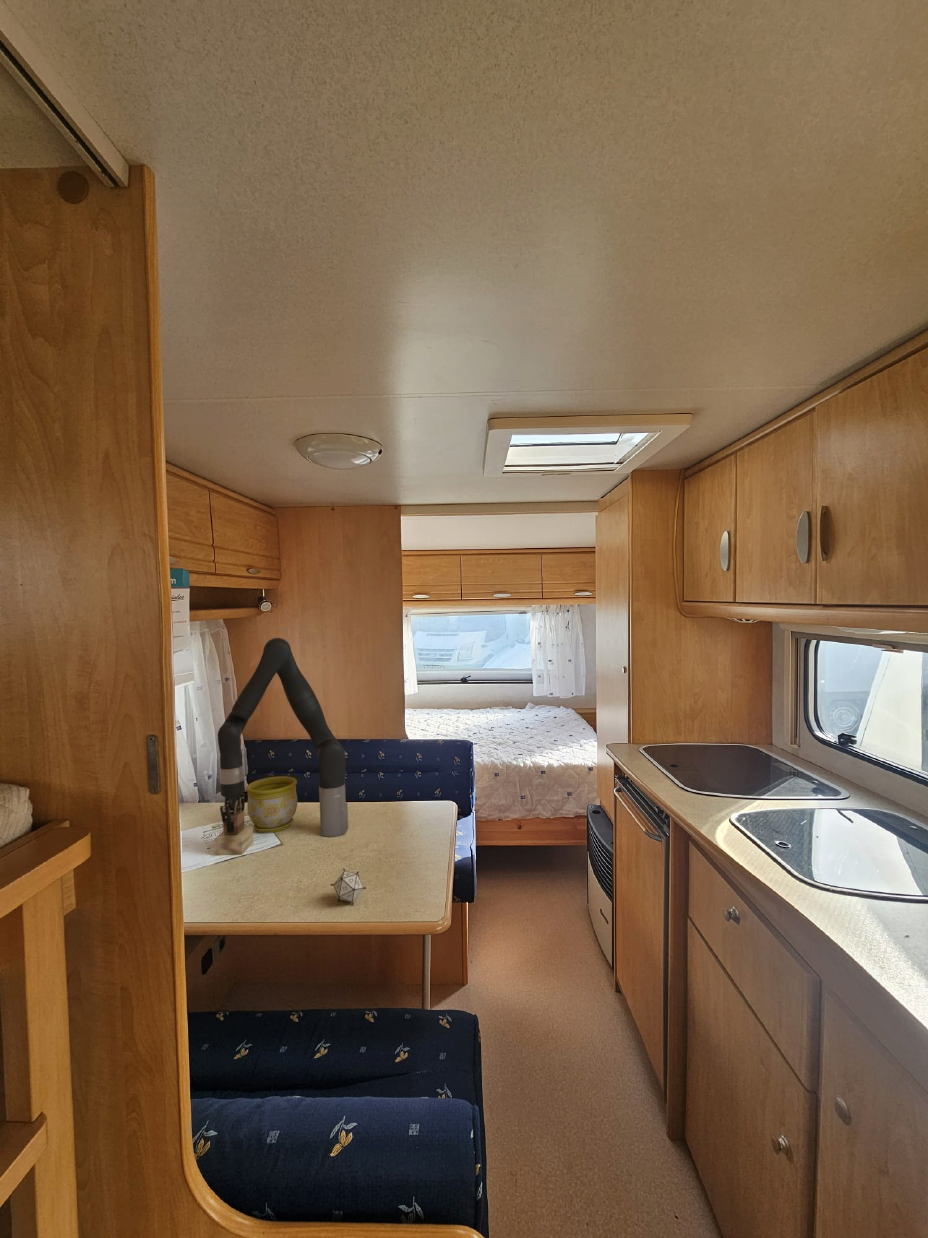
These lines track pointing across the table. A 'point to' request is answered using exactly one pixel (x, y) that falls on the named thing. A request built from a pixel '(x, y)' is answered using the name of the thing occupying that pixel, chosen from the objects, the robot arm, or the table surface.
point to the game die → (348, 886)
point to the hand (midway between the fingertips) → (234, 829)
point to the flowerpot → (272, 803)
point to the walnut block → (236, 823)
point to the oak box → (234, 842)
